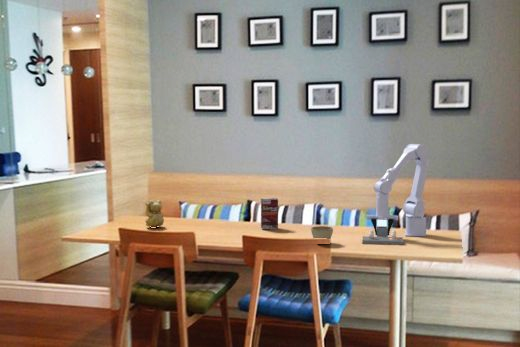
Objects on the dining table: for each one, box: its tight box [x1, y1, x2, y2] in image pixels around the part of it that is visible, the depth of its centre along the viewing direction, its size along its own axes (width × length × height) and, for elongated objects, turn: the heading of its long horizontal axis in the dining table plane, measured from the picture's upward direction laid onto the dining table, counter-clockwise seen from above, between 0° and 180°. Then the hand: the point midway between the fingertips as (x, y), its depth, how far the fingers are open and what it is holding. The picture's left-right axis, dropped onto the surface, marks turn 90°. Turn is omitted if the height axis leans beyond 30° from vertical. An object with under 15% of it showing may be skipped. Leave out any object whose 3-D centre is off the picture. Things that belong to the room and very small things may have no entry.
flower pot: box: [310, 225, 334, 240], centre depth 253 cm, size 10×10×7 cm
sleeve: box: [376, 225, 389, 237], centre depth 264 cm, size 5×5×5 cm
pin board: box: [361, 229, 404, 246], centre depth 255 cm, size 18×9×6 cm, turn 79°
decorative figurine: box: [144, 199, 165, 228], centre depth 297 cm, size 10×8×15 cm
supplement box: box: [260, 197, 279, 231], centre depth 290 cm, size 9×5×16 cm, turn 97°
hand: (382, 234), depth 265 cm, fingers closed on sleeve, 5 cm apart
